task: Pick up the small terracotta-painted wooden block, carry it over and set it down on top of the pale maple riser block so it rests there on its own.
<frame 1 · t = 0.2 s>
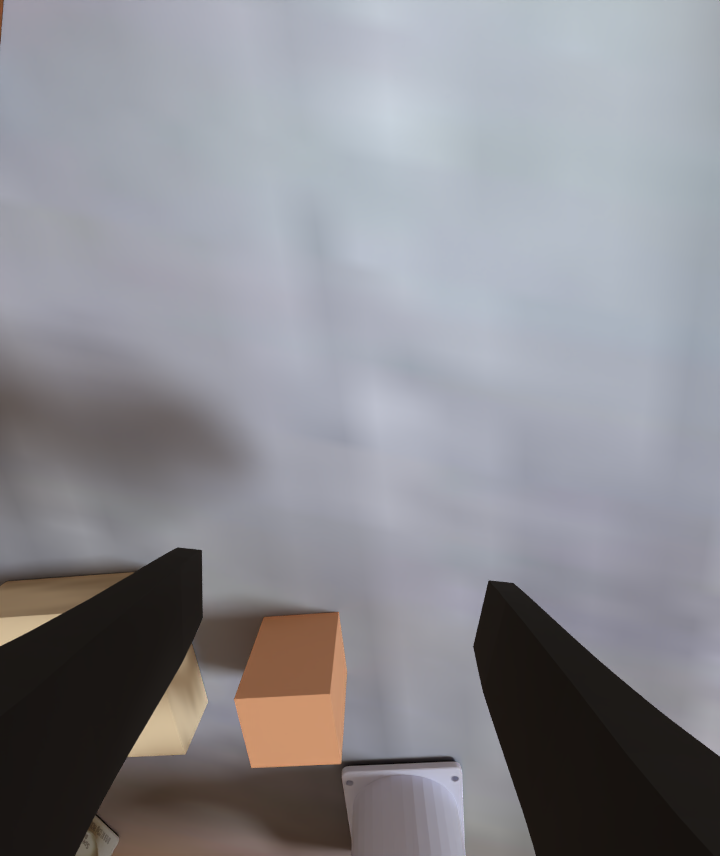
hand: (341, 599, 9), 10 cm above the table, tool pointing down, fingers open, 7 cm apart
coffee box: (55, 810, 27), on the table
block: (306, 644, 22), on the table
riser: (112, 644, 22), on the table
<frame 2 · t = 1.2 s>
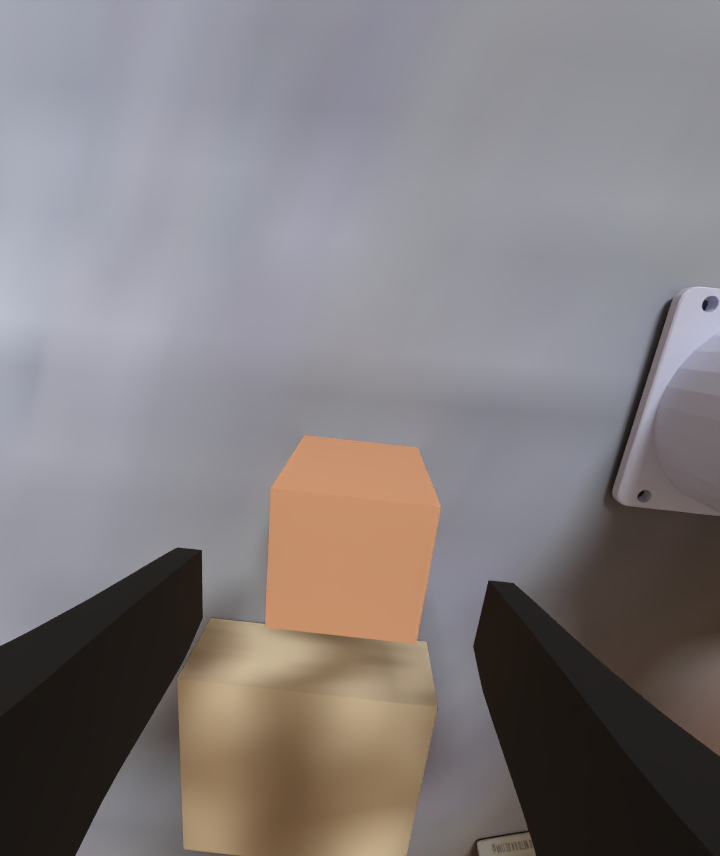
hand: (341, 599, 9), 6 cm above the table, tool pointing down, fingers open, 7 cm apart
coffee box: (563, 854, 21), on the table
block: (355, 492, 15), on the table
riser: (311, 711, 18), on the table
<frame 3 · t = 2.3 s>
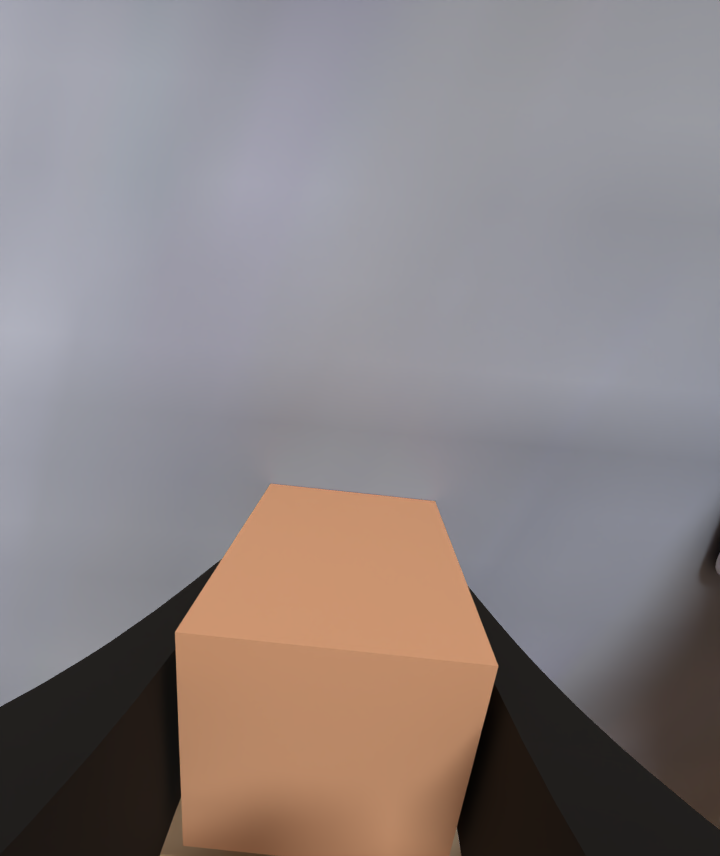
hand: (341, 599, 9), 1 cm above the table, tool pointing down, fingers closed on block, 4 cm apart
block: (345, 563, 10), on the table, touching gripper
riser: (289, 836, 14), on the table
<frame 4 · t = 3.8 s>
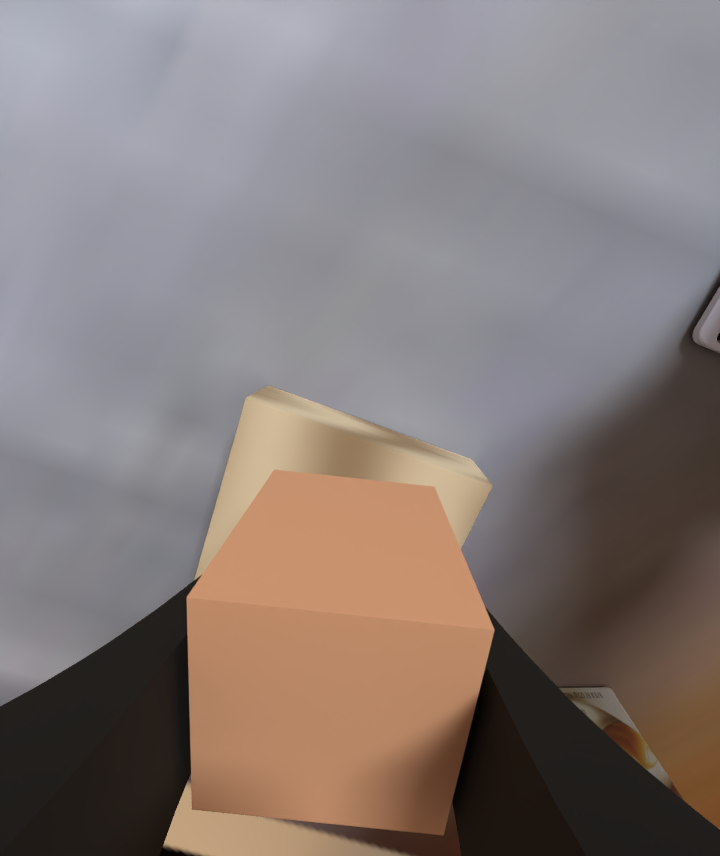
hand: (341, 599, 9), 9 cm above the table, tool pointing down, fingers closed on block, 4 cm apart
coffee box: (525, 722, 21), on the table
block: (346, 548, 11), point 7 cm above the table, touching gripper
riser: (336, 514, 18), on the table
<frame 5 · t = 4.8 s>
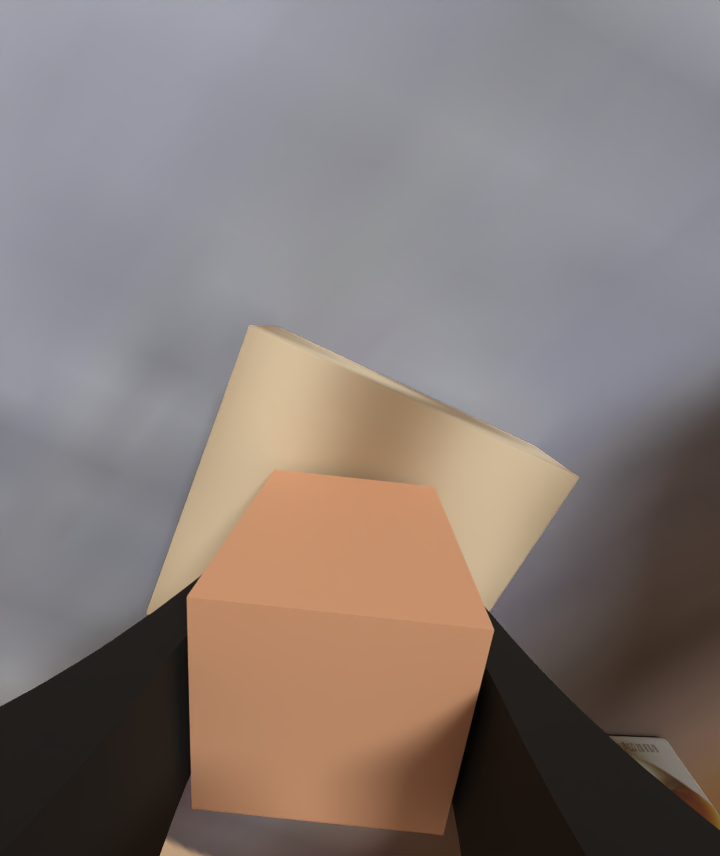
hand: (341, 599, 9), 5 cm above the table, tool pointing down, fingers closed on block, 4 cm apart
coffee box: (555, 772, 18), on the table
block: (346, 548, 11), point 3 cm above the table, touching gripper
riser: (351, 504, 14), on the table
when the fingers open (5 cm above the table, at t = 5.7 s): block stays where it is, resting on riser.
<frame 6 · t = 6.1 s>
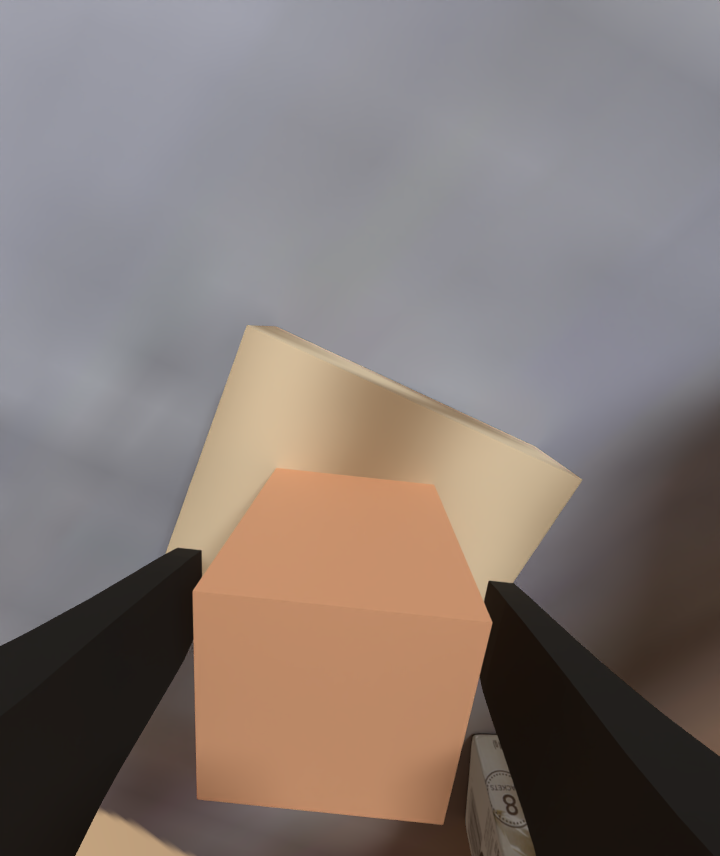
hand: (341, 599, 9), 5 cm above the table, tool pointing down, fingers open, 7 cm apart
coffee box: (557, 776, 18), on the table
block: (347, 545, 11), point 3 cm above the table, touching riser
riser: (351, 506, 14), on the table
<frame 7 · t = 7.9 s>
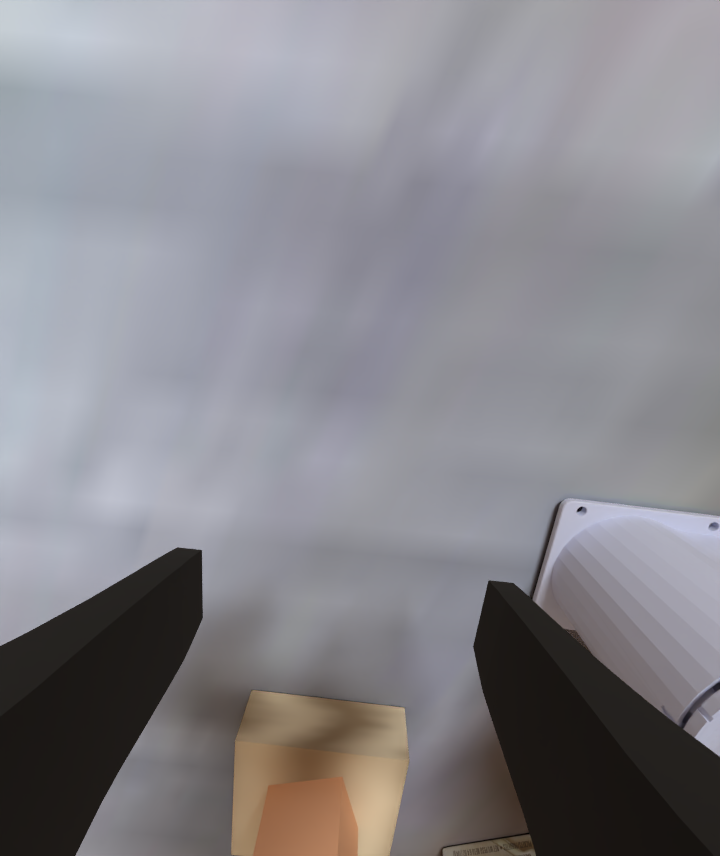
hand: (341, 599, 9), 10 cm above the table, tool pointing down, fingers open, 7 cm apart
block: (314, 807, 22), point 3 cm above the table, touching riser
riser: (321, 754, 25), on the table
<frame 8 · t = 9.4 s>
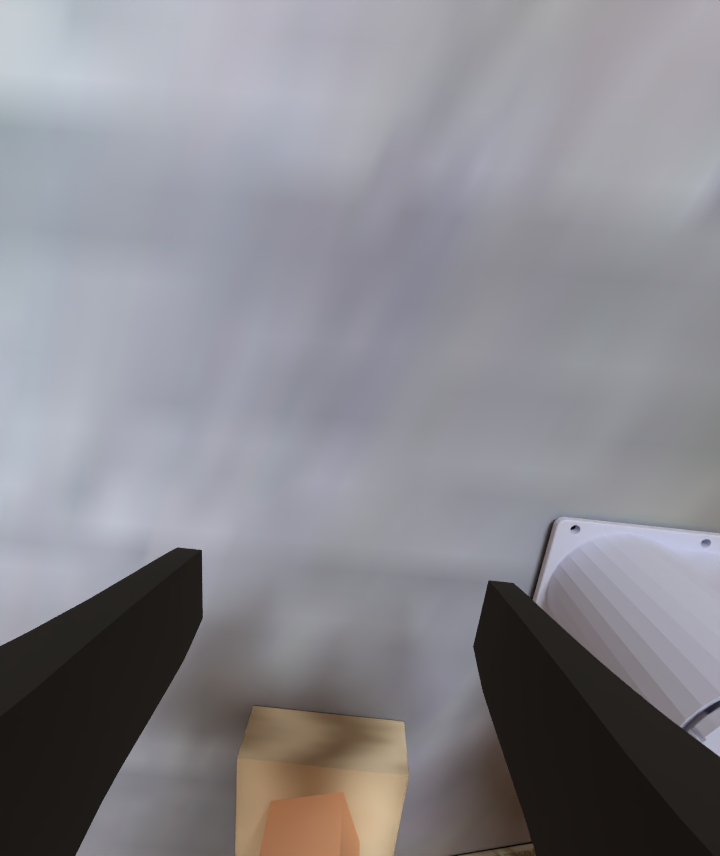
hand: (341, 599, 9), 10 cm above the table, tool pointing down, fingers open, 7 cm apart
block: (315, 821, 22), point 3 cm above the table, touching riser
riser: (322, 767, 25), on the table
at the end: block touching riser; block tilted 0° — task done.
